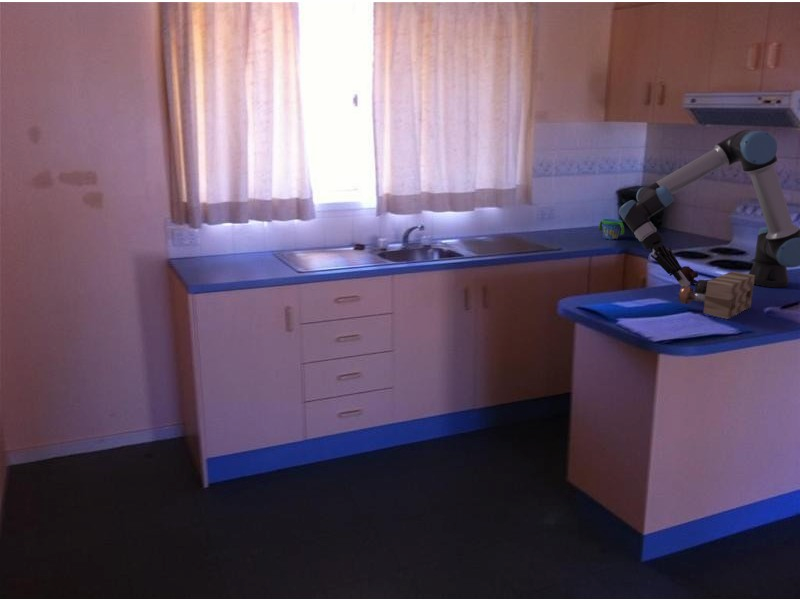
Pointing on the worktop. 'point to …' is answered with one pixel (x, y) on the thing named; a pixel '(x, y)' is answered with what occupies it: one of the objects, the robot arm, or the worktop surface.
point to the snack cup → (611, 228)
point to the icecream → (689, 274)
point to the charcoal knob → (701, 287)
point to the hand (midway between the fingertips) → (687, 286)
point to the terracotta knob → (690, 295)
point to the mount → (729, 294)
